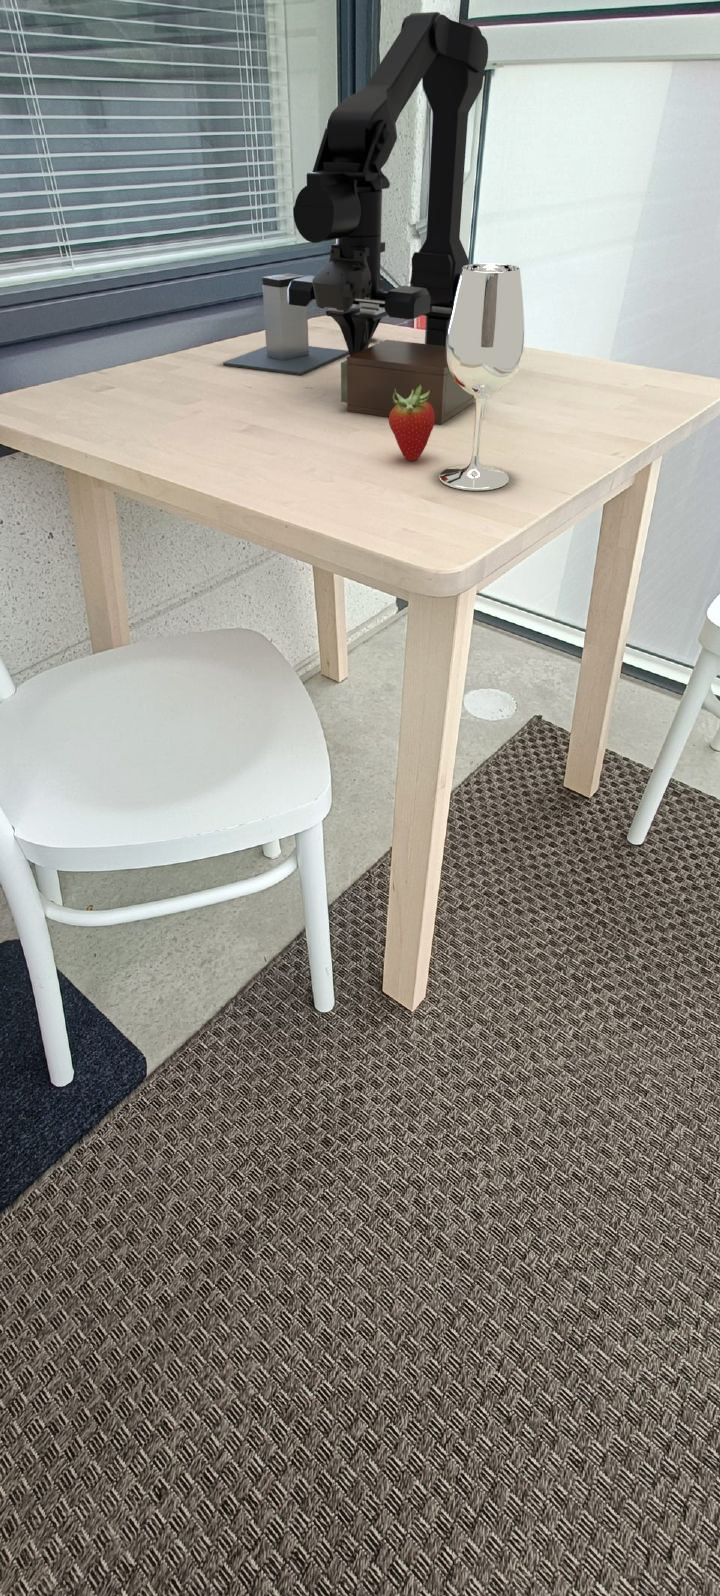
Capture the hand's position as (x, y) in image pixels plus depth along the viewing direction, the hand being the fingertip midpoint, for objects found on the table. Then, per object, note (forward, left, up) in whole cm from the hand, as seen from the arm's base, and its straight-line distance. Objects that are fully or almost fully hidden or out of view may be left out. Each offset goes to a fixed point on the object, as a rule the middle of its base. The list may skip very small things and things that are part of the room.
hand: (357, 367), depth 120 cm
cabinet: (+2, +9, -4) cm, 10 cm away
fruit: (+22, +18, -4) cm, 29 cm away
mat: (-14, -20, -4) cm, 24 cm away
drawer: (+2, +7, -3) cm, 8 cm away
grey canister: (-14, -20, -3) cm, 25 cm away
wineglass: (+25, +27, -4) cm, 37 cm away
